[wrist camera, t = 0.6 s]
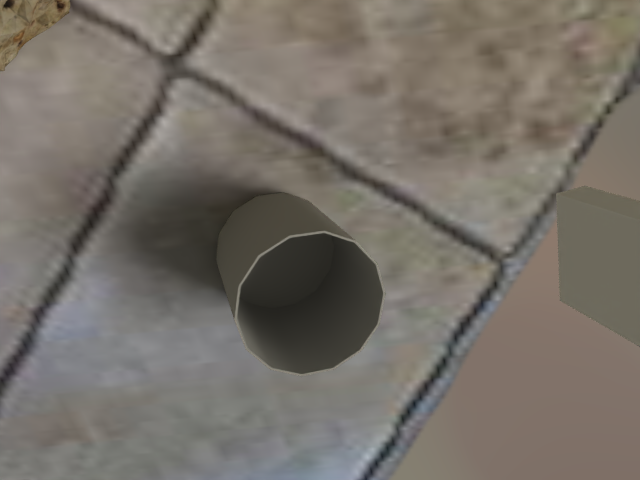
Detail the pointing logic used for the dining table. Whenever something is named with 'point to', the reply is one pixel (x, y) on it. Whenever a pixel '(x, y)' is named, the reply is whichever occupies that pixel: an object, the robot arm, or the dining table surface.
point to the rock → (26, 23)
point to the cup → (297, 285)
